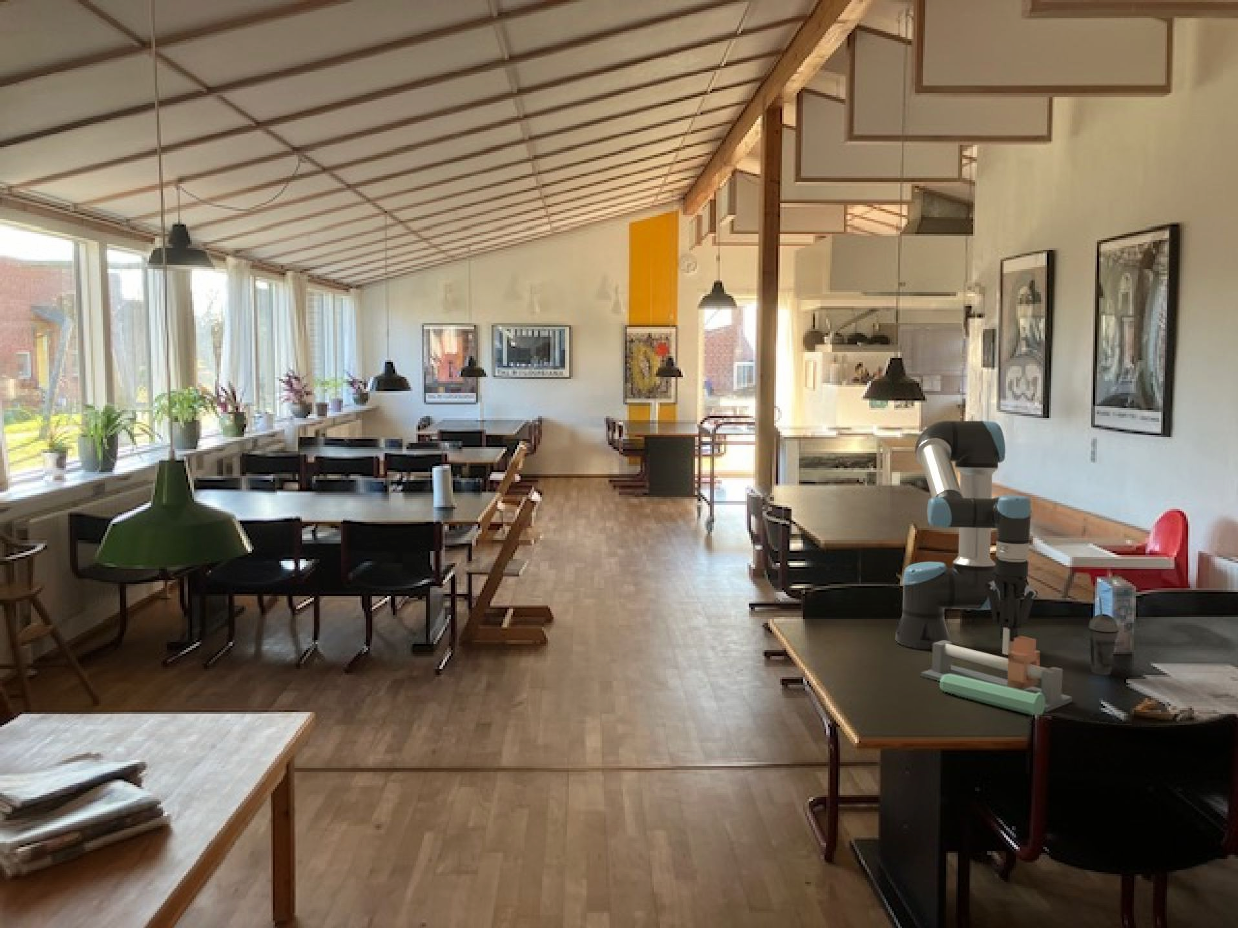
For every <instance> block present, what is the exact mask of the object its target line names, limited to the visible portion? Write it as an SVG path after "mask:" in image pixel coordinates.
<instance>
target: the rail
mask: <svg viewBox="0 0 1238 928" xmlns="http://www.w3.org/2000/svg"><path fill="white" fill-rule="evenodd" d="M931 651H932V653H931V654H932V657H931V658H932V659H931V669H928V670H924V671H922V672H921V673H920V677H921V676H924V677H926V678H925V679H927V678H931V679H935V680H937V681H940V679H941V677H942V676H943V675H945V674H954V675H958V676H963V677H967V678H971V679H975V680H980V681H984V682H988V683H992V684H997V685H1001V686H1005V687H1009V688H1014V687H1010V686H1007V678H1003V677H999V676H995V675H991V674H987V673H983V672H980V671H975V670H972V669H969V668H966V667H965V668H964V667H960V666H956V665H954V664H952V658H955V659H959V660H963V661H967V662H971V663H975V664H979V665H982V666H987V667H990V668H994V669H997V670H1002V671H1006V672H1008V657H1002V656H999V655H994V654H990V653H987V652H983V651H980V650H979V651H978V650H974V649H972V648H966V647H962V646H958V645H954V644H953V642H952V641H946V640H942V641H939V642H935V643H933V649H931ZM1063 670H1064V669H1063V668H1059V667H1055V666H1052V667H1049V668H1047V667H1043V666H1036V665H1032V664H1030V663H1027V675H1026V677H1032V678H1036V679H1039V681H1040V680H1041V688H1040V687H1038V686H1037V687H1036V686H1032V687H1029V688H1026V689H1024V690H1022V691H1026V692H1031V693H1035V694H1036V693H1038V692H1039V693H1042V694H1043V695H1044V697H1045V709H1044V712H1043V713H1047V712H1048V713H1049V712H1050V711H1052V710H1055V709H1057V708H1060V707H1062V706H1065V705H1068V704H1070V703H1072V701H1073V696H1070V695H1066V694H1063V693H1062V692H1063V676H1064V675H1063V672H1064V671H1063ZM937 681H936V682H937ZM1014 689H1017V688H1014ZM1018 690H1021V689H1018Z"/></svg>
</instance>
